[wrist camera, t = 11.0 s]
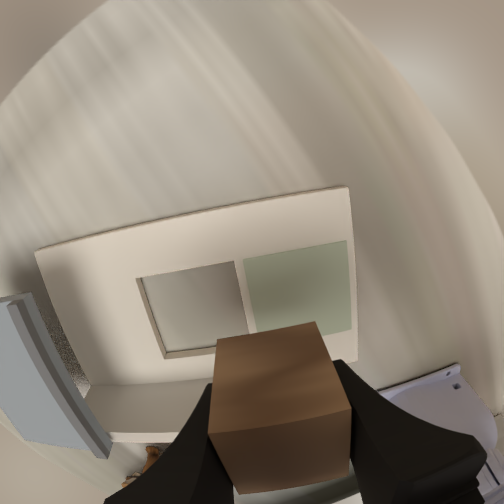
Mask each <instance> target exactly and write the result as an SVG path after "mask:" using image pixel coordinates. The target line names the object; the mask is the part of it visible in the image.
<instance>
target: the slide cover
mask: <svg viewBox="0 0 504 504" xmlns="http://www.w3.org/2000/svg"><path fill="white" fill-rule="evenodd" d="M0 407H1V409H2V410H3V412H4V413H5V414H6V416H7V417H8V419H9V420H10V421H11V423H12V424H13V425H14V427H15V428H16V429H17V431H18V432H19V433H20V434H21V436H22V437H23V438H24V439H25V440H28V441H32V442H37V443H43V444H48V445H54V446H60V447H67V448H74V449H82V450H91V451H92V452H93V454H94V455H95V456H96V457H97V458H101V459H108V457H109V454H110V451H111V448H112V445H113V442H112V441H111V440H110V438H109V437H108V435H107V434H106V432H105V431H104V430H103V428H102V427H101V425H100V424H99V422H98V421H97V419H96V418H95V416H94V414H93V413H92V411H91V410H90V408H89V407H88V405H87V403H86V402H85V400H84V398H83V397H82V395H81V393H80V392H79V390H78V388H77V387H76V385H75V383H74V381H73V380H72V378H71V376H70V374H69V372H68V370H67V369H66V367H65V365H64V363H63V361H62V359H61V357H60V355H59V353H58V351H57V349H56V347H55V345H54V343H53V341H52V339H51V337H50V335H49V332H48V330H47V328H46V326H45V324H44V321H43V319H42V317H41V314H40V312H39V310H38V307H37V305H36V302H35V300H34V297H33V295H32V292H29V293H23V294H18V295H12V296H7V297H1V298H0Z"/></svg>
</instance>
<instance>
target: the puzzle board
mask: <svg viewBox="0 0 504 504" xmlns="http://www.w3.org/2000/svg"><path fill="white" fill-rule="evenodd" d="M34 255H35V258H36V261H37V264H38V267H39V270H40V273H41V276H42V278H43V281H44V284H45V287H46V289H47V292H48V295H49V297H50V300H51V302H52V305H53V307H54V310H55V312H56V314H57V317H58V319H59V321H60V324H61V326H62V328H63V331H64V333H65V335H66V337H67V339H68V341H69V344H70V346H71V348H72V350H73V352H74V354H75V356H76V358H77V360H78V362H79V364H80V366H81V368H82V370H83V372H84V373H85V375H86V377H87V379H88V381H89V383H90V384H91V387H90V389H89V391H88V393H87V395H86V397H85V398H84V400H85V402H86V403H87V405H88V407H89V408H90V410H91V411H92V413H93V414H94V416H95V418H96V419H97V421H98V422H99V424H100V425H101V427H102V428H103V430H104V431H105V432H106V434H107V435H108V437H109V438H110V440H111V441H112V442H136V443H168V442H173V441H174V439H175V438H176V437H177V435H178V434H179V432H180V431H181V429H182V428H183V426H184V425H185V423H186V422H187V420H188V419H189V417H190V415H191V413H192V412H193V410H194V408H195V407H196V405H197V403H198V401H199V399H200V397H201V395H202V393H203V391H204V389H205V387H206V385H207V384H208V383H213V373H214V363H215V353H216V347H209V348H202V349H195V350H187V351H179V352H170V353H166V351H165V348H164V346H163V343H162V340H161V338H160V335H159V332H158V329H157V327H156V324H155V321H154V318H153V315H152V312H151V309H150V306H149V303H148V300H147V297H146V294H145V291H144V288H143V285H142V282H141V277H146V276H152V275H157V274H163V273H169V272H174V271H180V270H185V269H191V268H197V267H202V266H208V265H213V264H219V263H224V262H230V261H234V264H235V269H236V274H237V278H238V283H239V288H240V292H241V297H242V302H243V306H244V311H245V316H246V320H247V325H248V329H249V334H252V333H258V332H263V331H269V330H274V329H279V328H284V327H289V326H294V325H299V324H304V323H308V322H313V321H315V322H316V324H317V327H318V329H319V331H320V334H321V336H322V338H323V341H324V343H325V345H326V348H327V350H328V353H329V355H330V357H331V360H332V361H334V360H338V359H342V360H343V361H344V362H345V363H346V364H348V363H352V362H356V361H358V309H357V283H356V265H355V250H354V238H353V226H352V216H351V206H350V197H349V188H348V187H346V186H340V187H333V188H326V189H320V190H314V191H307V192H301V193H295V194H289V195H283V196H277V197H271V198H266V199H260V200H254V201H249V202H243V203H238V204H233V205H227V206H222V207H217V208H212V209H207V210H202V211H197V212H192V213H187V214H182V215H178V216H173V217H168V218H164V219H159V220H155V221H150V222H146V223H141V224H137V225H132V226H128V227H124V228H119V229H115V230H111V231H107V232H103V233H99V234H95V235H90V236H86V237H82V238H79V239H75V240H71V241H67V242H63V243H59V244H55V245H52V246H48V247H44V248H41V249H39V250H37V251H35V252H34Z"/></svg>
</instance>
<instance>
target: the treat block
mask: <svg viewBox="0 0 504 504" xmlns="http://www.w3.org/2000/svg"><path fill="white" fill-rule="evenodd" d="M208 435H209V437H210V439H211V441H212V443H213V445H214V448H215V450H216V452H217V454H218V456H219V458H220V460H221V462H222V464H223V466H224V468H225V470H226V471H227V473H228V475H229V477H230V479H231V481H232V483H233V485H234V487H235V488H236V490H237V492H238V494H239V495H240V494H250V493H259V492H267V491H275V490H282V489H288V488H294V487H299V486H305V485H310V484H315V483H319V482H324V481H328V480H332V479H337V478H340V477H344V476H348V475H349V460H350V441H351V406H350V403H349V401H348V398H347V396H346V394H345V391H344V389H343V386H342V384H341V381H340V379H339V376H338V374H337V372H336V369H335V367H334V364H333V362H332V360H331V357H330V355H329V353H328V350H327V348H326V345H325V343H324V341H323V338H322V336H321V334H320V331H319V329H318V327H317V324H316V322H315V321H313V322H308V323H304V324H299V325H294V326H289V327H284V328H279V329H274V330H269V331H263V332H258V333H252V334H246V335H241V336H235V337H229V338H223V339H217V344H216V353H215V363H214V373H213V383H212V393H211V404H210V415H209V426H208Z"/></svg>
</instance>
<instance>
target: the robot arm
mask: <svg viewBox="0 0 504 504" xmlns="http://www.w3.org/2000/svg"><path fill="white" fill-rule="evenodd" d="M332 362H333V364H334V367H335V369H336V372H337V374H338V376H339V379H340V381H341V384H342V386H343V389H344V391H345V394H346V396H347V398H348V401H349V403H350V406H351V441H350V459H351V462H352V464H353V467H354V471H355V474H356V478H357V482H358V485H359V489H360V493H361V497H362V501H363V504H504V456H503V455H502V454H501V452H500V451H499V450H498V449H495V446H496V443H497V426H496V422H495V419H494V417H493V415H492V413H491V411H490V410H489V408H488V407H487V406H486V405H485V403H484V402H483V401H482V400H481V398H480V397H479V396H478V395H477V394H476V392H475V391H474V390H473V389H472V387H471V386H470V385H469V384H468V383H467V381H466V380H465V379H464V378H463V377H462V376H461V374H460V369H461V366H460V365H459V364H455V365H452V366H450V367H447V368H445V369H442V370H440V371H437V372H435V373H432V374H429V375H427V376H424V377H421V378H418V379H416V380H413V381H410V382H407V383H404V384H401V385H398V386H395V387H392V388H389V389H386V390H382V391H379V392H376V391H375V390H374V389H373V388H372V387H370V386H369V385H368V384H367V383H366V382H364V381H363V380H362V379H361V378H360V377H359V376H358V375H357V374H356V373H355V372H354V371H353V370H352V369H351V368H350V367H349V366H348V365H347V364H346V363H345V362H344V361H343V360H342V359H338V360H334V361H332ZM211 393H212V383H208V384H207V385H206V387H205V389H204V391H203V393H202V395H201V397H200V399H199V401H198V403H197V405H196V407H195V408H194V410H193V412H192V413H191V415H190V417H189V419H188V420H187V422H186V423H185V425H184V426H183V428H182V429H181V431H180V432H179V434H178V435H177V437H176V438H175V439H174V441H173V442H172V443H171V444H170V446H169V447H168V448H167V449H166V450H165V452H164V453H163V454H162V455H161V456H160V457H159V458H158V459H157V460H156V461H155V462H154V463H153V464H152V465H151V466H150V467H149V468H148V469H147V470H146V471H145V472H144V473H142V474H141V475H140V476H139V477H138V478H136V479H135V480H134V481H133V482H131V483H130V484H129V485H127V486H126V487H124V488H123V489H121V490H119V491H118V492H116V493H115V494H113V495H111V496H110V497H108V498H106V499H105V501H104V504H234V494H233V483H232V481H231V479H230V477H229V475H228V473H227V471H226V470H225V468H224V466H223V464H222V462H221V460H220V458H219V456H218V454H217V452H216V450H215V448H214V445H213V443H212V441H211V439H210V437H209V435H208V426H209V415H210V404H211Z"/></svg>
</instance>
